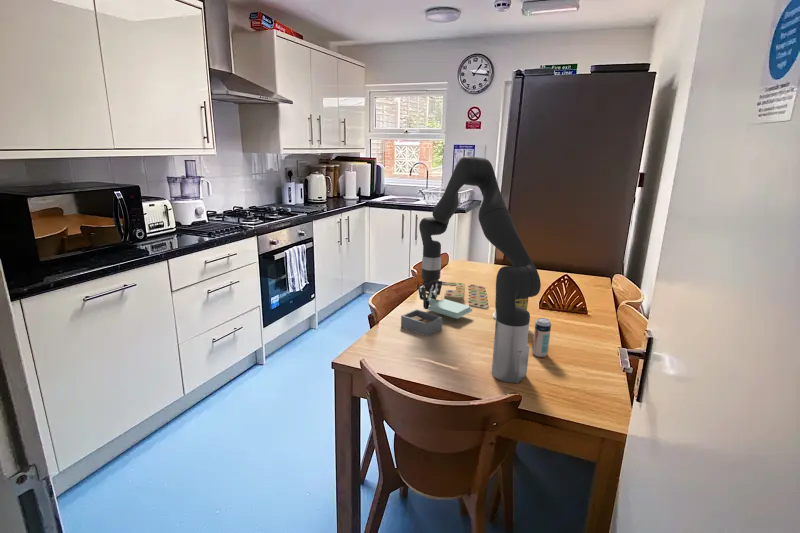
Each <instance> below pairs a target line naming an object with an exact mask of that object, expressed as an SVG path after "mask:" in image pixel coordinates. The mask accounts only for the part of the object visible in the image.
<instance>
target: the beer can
mask: <svg viewBox="0 0 800 533" xmlns="http://www.w3.org/2000/svg"><path fill="white" fill-rule="evenodd" d="M534 323H535V324H534V331H533V332H534V333H533V339H532V340H533V342H532V351H531V353H532V355H534V356H535V357H537V358H538V357H539V358H544V357H548V355H549V354H548V353H549V345H550V339H551V338H550V337H551V328H552V323H551V321H550V320H549V319H548V318H545V317H540V318H539V317H538V318H537V319H536V320H535V322H534Z"/></svg>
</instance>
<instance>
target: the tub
mask: <svg viewBox="0 0 800 533" xmlns="http://www.w3.org/2000/svg"><path fill="white" fill-rule="evenodd" d="M415 316H418V317H420V318H422V319H423V320H430V321H431V322H429V323H424V322H421V321H418V320H415V319H412V318H411V317H415ZM400 320H401V321H400V327H401V328H403V329H406V330H408V331H411V332H413V333H414V332H415V333H416V334H420V335H423V336H425V337H428V336H430V335H432V334H434V333H436V332H437V331H440V330H442V327H443V317H442V316H439V315H436V314H433V313H430V312H427V311H423V310H420V309H417V308H416V309H413V310H412V311H409V312H406V313H404V314H401V316H400Z"/></svg>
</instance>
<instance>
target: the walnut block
mask: <svg viewBox="0 0 800 533" xmlns="http://www.w3.org/2000/svg"><path fill="white" fill-rule="evenodd" d="M411 318H412V319H415V320H418V321H421V322H422V321H423V319H422V318H420V317H418V316H415V317H411Z"/></svg>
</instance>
